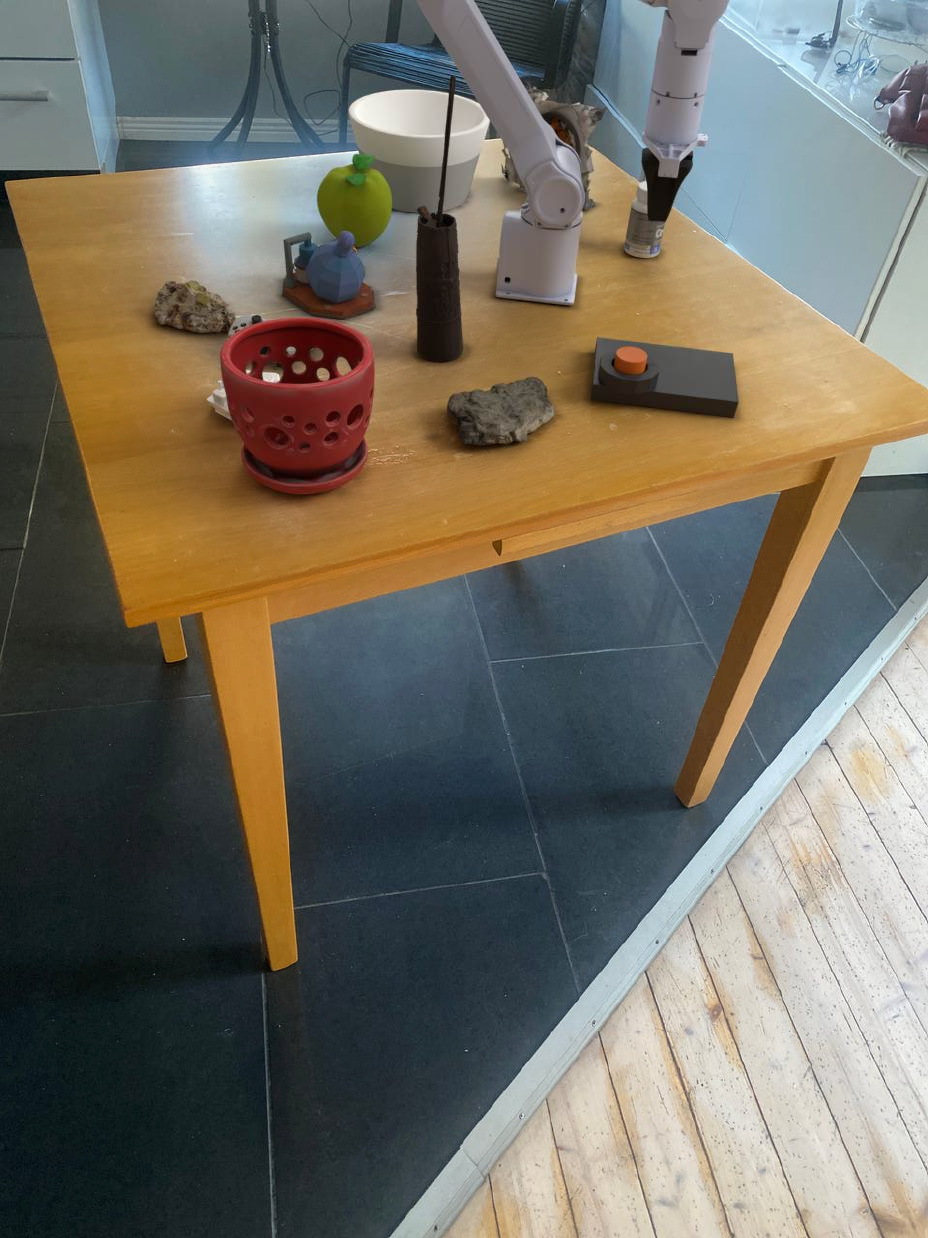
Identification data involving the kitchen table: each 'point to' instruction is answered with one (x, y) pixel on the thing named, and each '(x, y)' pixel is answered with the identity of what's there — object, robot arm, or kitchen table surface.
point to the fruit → (355, 201)
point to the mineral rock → (192, 308)
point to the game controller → (250, 320)
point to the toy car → (219, 395)
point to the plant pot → (300, 403)
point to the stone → (500, 412)
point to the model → (327, 278)
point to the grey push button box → (667, 379)
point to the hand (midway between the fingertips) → (657, 218)
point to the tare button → (630, 360)
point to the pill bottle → (643, 228)
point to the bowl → (420, 144)
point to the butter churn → (438, 273)
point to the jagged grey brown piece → (563, 134)
